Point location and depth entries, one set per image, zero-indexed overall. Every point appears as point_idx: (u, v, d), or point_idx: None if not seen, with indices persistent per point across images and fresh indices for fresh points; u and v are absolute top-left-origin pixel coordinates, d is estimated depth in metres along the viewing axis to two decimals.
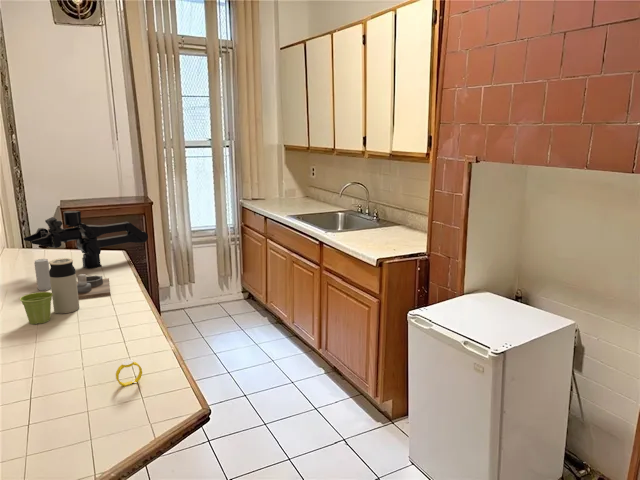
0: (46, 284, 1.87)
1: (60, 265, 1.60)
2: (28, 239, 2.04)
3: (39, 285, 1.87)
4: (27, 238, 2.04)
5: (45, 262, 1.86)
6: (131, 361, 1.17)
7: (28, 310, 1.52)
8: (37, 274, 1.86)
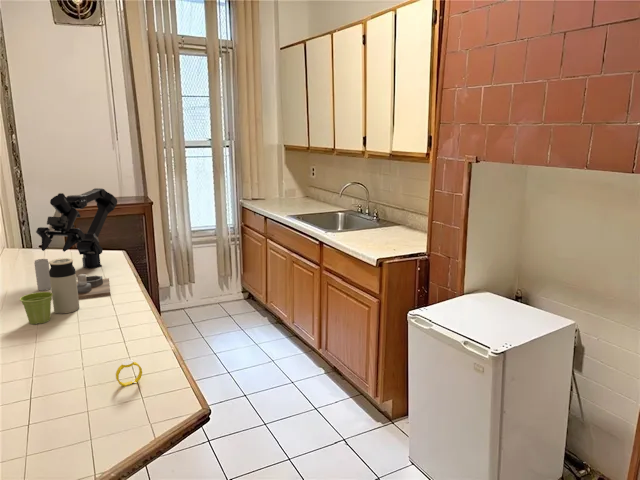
0: (46, 284, 1.87)
1: (60, 265, 1.60)
2: (45, 247, 1.96)
3: (39, 285, 1.87)
4: (44, 247, 1.95)
5: (45, 262, 1.86)
6: (131, 361, 1.17)
7: (28, 310, 1.52)
8: (37, 274, 1.86)
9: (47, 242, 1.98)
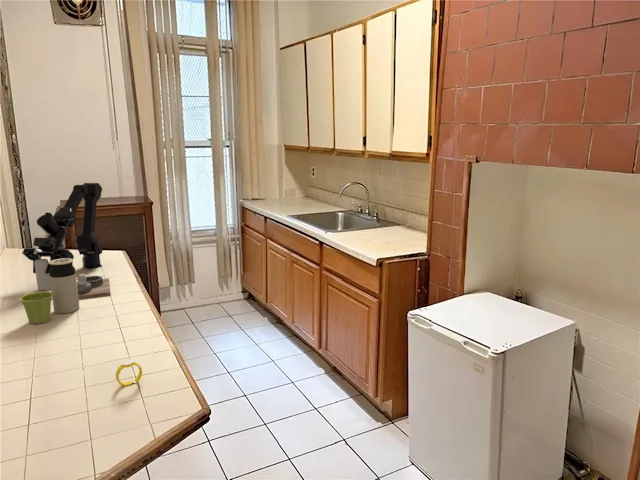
0: (46, 284, 1.87)
1: (60, 265, 1.60)
2: None
3: (39, 285, 1.87)
4: None
5: (45, 262, 1.86)
6: (131, 361, 1.17)
7: (28, 310, 1.52)
8: (37, 274, 1.86)
9: None
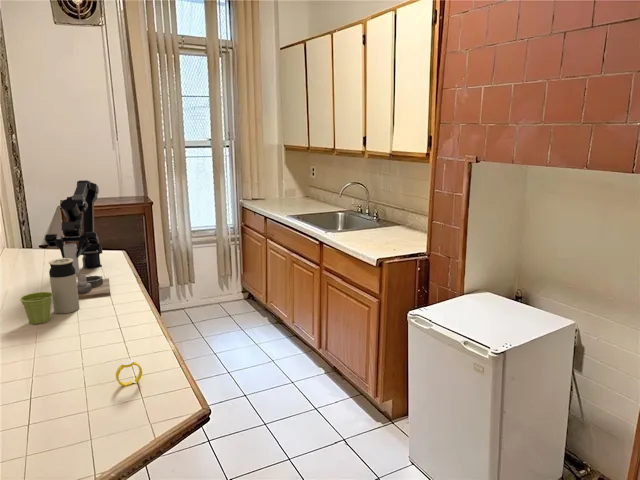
0: (76, 268, 1.88)
1: (60, 265, 1.60)
2: None
3: None
4: (63, 254, 1.86)
5: (75, 246, 1.86)
6: (131, 361, 1.17)
7: (28, 310, 1.52)
8: None
9: None
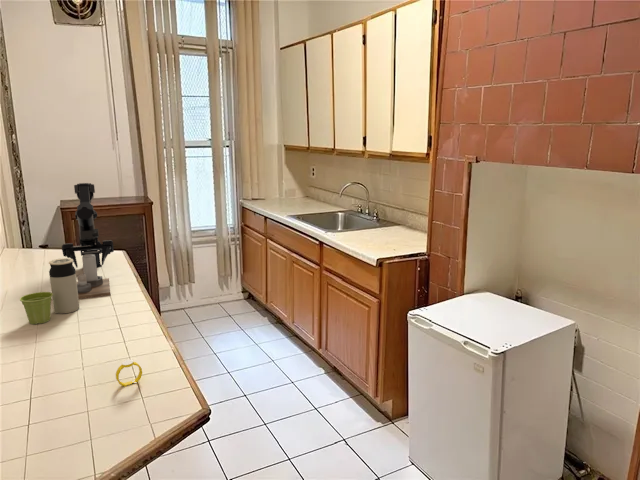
0: (96, 278, 1.91)
1: (60, 265, 1.60)
2: None
3: (90, 280, 1.90)
4: None
5: (94, 256, 1.90)
6: (131, 361, 1.17)
7: (28, 310, 1.52)
8: (88, 269, 1.89)
9: None
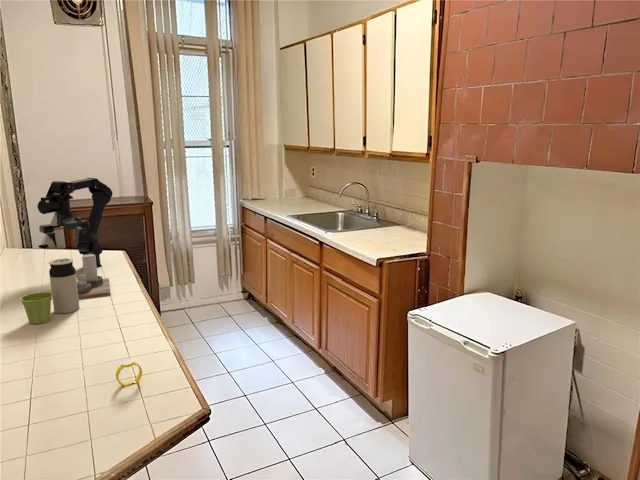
0: (96, 278, 1.91)
1: (60, 265, 1.60)
2: None
3: (90, 280, 1.90)
4: None
5: (94, 256, 1.90)
6: (131, 361, 1.17)
7: (28, 310, 1.52)
8: (88, 269, 1.89)
9: None
